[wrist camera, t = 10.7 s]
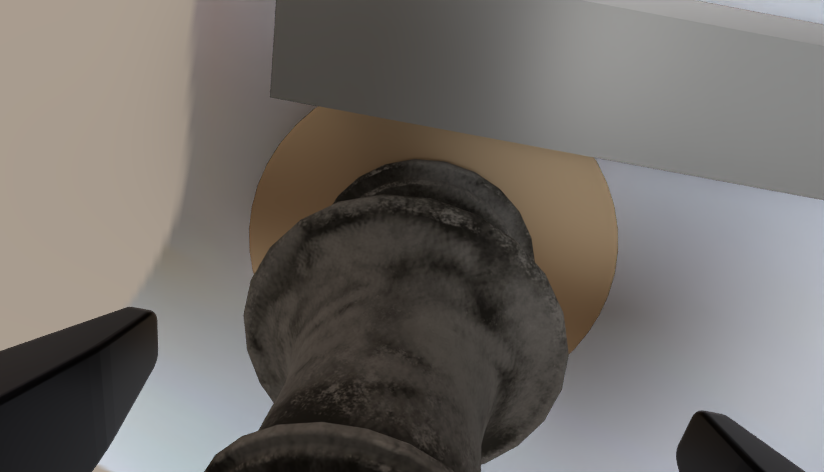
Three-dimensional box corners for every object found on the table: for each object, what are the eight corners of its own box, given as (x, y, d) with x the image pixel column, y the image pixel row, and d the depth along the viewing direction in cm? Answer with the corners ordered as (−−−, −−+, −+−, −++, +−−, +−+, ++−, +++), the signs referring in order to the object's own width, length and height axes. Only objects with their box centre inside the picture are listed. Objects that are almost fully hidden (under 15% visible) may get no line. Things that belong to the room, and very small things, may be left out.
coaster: (553, 416, 15) (557, 431, 15) (249, 361, 15) (241, 375, 14) (664, 108, 12) (675, 112, 11) (268, 33, 11) (259, 34, 11)
